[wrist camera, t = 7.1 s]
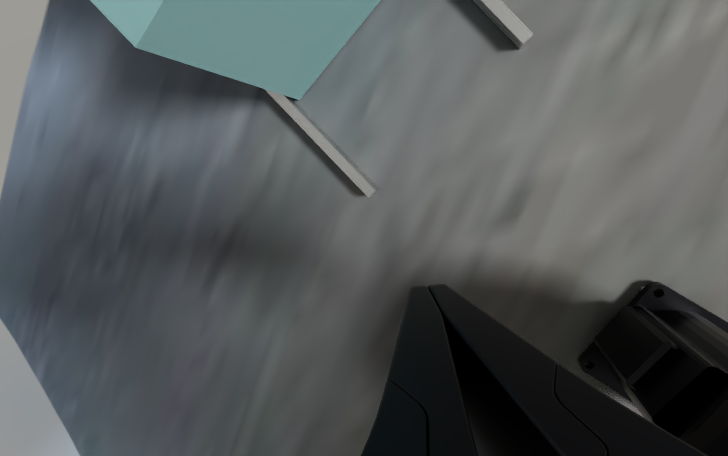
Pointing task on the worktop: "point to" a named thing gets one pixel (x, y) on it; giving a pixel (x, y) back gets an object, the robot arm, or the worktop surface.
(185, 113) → the worktop surface
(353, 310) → the worktop surface
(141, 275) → the worktop surface
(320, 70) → the block
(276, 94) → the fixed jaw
